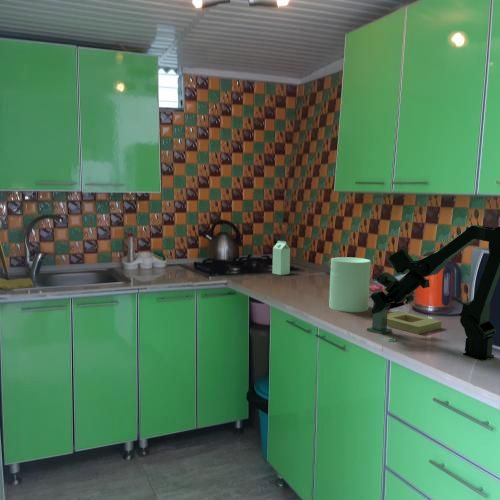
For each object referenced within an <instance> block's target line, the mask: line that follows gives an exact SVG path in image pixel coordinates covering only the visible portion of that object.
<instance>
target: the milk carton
mask: <svg viewBox="0 0 500 500" xmlns="http://www.w3.org/2000/svg"><path fill="white" fill-rule="evenodd" d="M271 269H272V270H271V271H272V272H271V273H272V274H274V275H278V276H282V275H283V276H284V275H290V274H291V273H290V272H291V271H290V269H291V247H289V245H288V244H287V241H283V240H277V242H276V243H275V245H273V247H272V268H271Z"/></svg>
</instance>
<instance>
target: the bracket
mask: <svg viewBox="0 0 500 500" xmlns="http://www.w3.org/2000/svg"><path fill="white" fill-rule="evenodd" d="M383 292H384V291H383ZM384 293H385V295H386V294H387V293H388V292H386V291H385V292H384ZM372 302H373V303H372V305H373V307H374V305H375V303H374V301H372ZM373 307H372V308H373ZM387 313H389V312H388V310H385V311H381V312H378V313H375V314H372V325H371V326H370V327H367V328H366V331H367V332H370V333H375V334H378V333H379V335H384V334H389V333H392V331H393V330H392V328H388V326H387Z"/></svg>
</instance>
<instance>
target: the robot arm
mask: <svg viewBox="0 0 500 500" xmlns="http://www.w3.org/2000/svg"><path fill="white" fill-rule="evenodd" d="M477 240H479V241H482V242H487V243H488V257H487V259H486V263H485V265H484V268H483V271H482V273H481V276H480V278H479V279H480V280H479V283H478V285H477V288H476V289H475V290H476V291H475V292H474V296H473V299H472V300H471V301H467V302H464V303H463V304H462V306H461V307H462V308H461V312H460V313H459V314H458V316H459V317H460V319H459V323H460V324H461V326H462V327H463V330H464V333H465V336H466V338H465V340H464V341H465V344H464V352H463V353H462V355H463V356H466V357H470V358H473V359H477V360H480V361H487V360H490V359H493V358H494V357H495V354H493V344H494V337H493V336H494V335H495V333H496V332H497V327H495V325H494V324H493V322H492V321H490V316H491V304H490V303H491V300H492V298H493V296H494V292H495V289H496V286H497V285H498V284H497V283H498V281H499V279H500V226H497V227H496V226H495V227H494V226H483V225H480V224H474V225H473V224H472V225H469V226H467V227H466V228H465V230H463V231H462V232H461V233H460V234H458V235H457V236H455V237H454V238H453V239H451V240H450V241H449V242H447V244H445V245H444V246H442V247H441V248H440V249H438V250H437V251H435V252H432V253H431V254H429V255H426V256H424V257H422V258H420V259H418V260H414V259H413V258H412V257H411V256H410V254H409V253H408V250H406V248H401V249H400V250H398V251H396V252H395V253H393V254H391V255H390V256H388V258H387V262H388V263H389V264H390V266H391V267H392V268H393V269H394V271H395V272H396V273H397V274H398V275H400V274H401V275H404V276H402V277H401V278H400V279H398V278H397V277H395V276H394V275H392V274H391V273H390V272H388V271H387V272H381V273H380V274H379V273H378V275H377V276H376V281H377V283H378V284H380V285H382V286H383V287H384V290H385V293H387V294H386V295H385V293H384V291H382V290H378V291H373V292H372V294H370V298H371V300H372V302H374V303H375V305H374V307H372V309H371V310H370V313H371V314H372V315H373V314H375V313H378V312H381V311H385V310H390V311H391V310H392V309H396V308H399V307H403V306H405V305H409V304H411V303H412V302H413V301H414V298H415V296H414V294H415V291H416V290H417V289H418V288H420V286H421V288H422V289H427V288H430V286H431V285H430V279H429V278H428V279H427V277H431V276H435V275H438V274H439V273H441V271H442V270H443V269H444V268H445V267H446V265H447V263H448V262H449V261H450V260H452V259H453V258H454V257H456V255H458V254H459V253H461V252H462V251H464V250H465V249H467V248H468V247H469V246H470V245H471V244H473V243H474V242H476V241H477Z"/></svg>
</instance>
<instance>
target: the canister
mask: <svg viewBox="0 0 500 500" xmlns="http://www.w3.org/2000/svg"><path fill="white" fill-rule="evenodd" d="M371 265H372V264H371V259H367V258H361V257H351V256H350V257H347V256H340V257H339V256H338V257H332V258H330V273H329V274H330V277H329V278H330V279H329V302H328V303H329V304H328V306H329V308H330V309H331V310H334V311H339V312H343V313H344V312H347V313H362V312H366V311H368V310H369V305H370V304H369V302H370V285H371V282H370V281H371V280H370V279H371Z"/></svg>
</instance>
